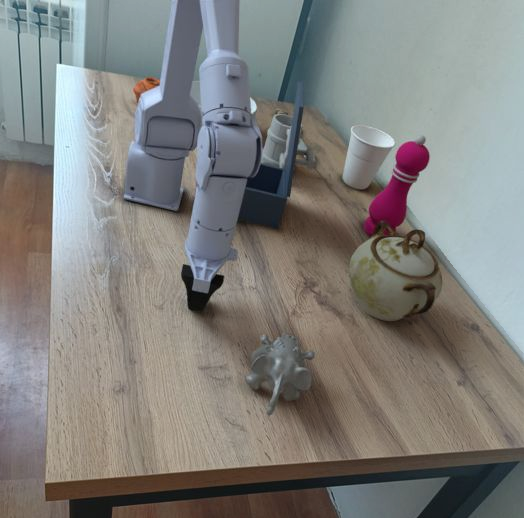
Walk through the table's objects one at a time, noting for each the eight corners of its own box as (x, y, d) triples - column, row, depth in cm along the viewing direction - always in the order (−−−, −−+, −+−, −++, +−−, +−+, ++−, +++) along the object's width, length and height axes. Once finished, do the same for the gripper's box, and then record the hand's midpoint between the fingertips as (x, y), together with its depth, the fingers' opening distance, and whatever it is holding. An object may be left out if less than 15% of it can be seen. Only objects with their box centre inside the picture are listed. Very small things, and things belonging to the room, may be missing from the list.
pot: (126, 107, 118) (130, 74, 115) (137, 104, 125) (141, 73, 122) (161, 117, 118) (166, 84, 115) (170, 114, 125) (175, 83, 122)
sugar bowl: (444, 346, 86) (494, 272, 76) (363, 348, 81) (405, 269, 71) (393, 269, 99) (430, 197, 89) (320, 266, 94) (350, 189, 83)
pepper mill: (394, 246, 105) (443, 149, 91) (359, 234, 105) (403, 136, 91) (395, 228, 110) (441, 134, 97) (362, 217, 110) (403, 121, 96)
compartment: (199, 211, 97) (205, 179, 92) (206, 180, 105) (211, 150, 101) (278, 229, 99) (287, 199, 95) (278, 198, 107) (287, 169, 103)
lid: (299, 106, 84) (327, 110, 84) (297, 81, 92) (323, 84, 92) (286, 196, 94) (311, 199, 94) (285, 166, 103) (309, 169, 103)
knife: (325, 166, 121) (306, 161, 119) (321, 172, 122) (303, 167, 120) (292, 111, 138) (275, 106, 136) (290, 117, 139) (273, 112, 137)
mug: (289, 159, 121) (305, 106, 113) (298, 186, 113) (316, 131, 105) (256, 153, 119) (270, 98, 111) (263, 180, 111) (278, 123, 103)
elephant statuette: (299, 362, 75) (316, 323, 70) (317, 433, 67) (337, 394, 62) (235, 358, 73) (247, 316, 68) (245, 431, 65) (260, 390, 59)
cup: (327, 180, 118) (344, 132, 111) (342, 167, 125) (360, 120, 118) (367, 200, 116) (387, 152, 109) (381, 185, 123) (401, 139, 116)
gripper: (242, 258, 63) (220, 339, 73) (247, 197, 74) (228, 275, 83) (182, 245, 62) (168, 329, 72) (196, 185, 73) (182, 265, 82)
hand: (197, 299), depth 77 cm, fingers open, 4 cm apart
